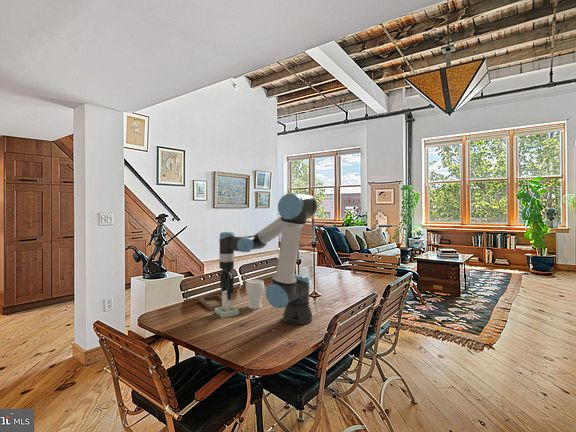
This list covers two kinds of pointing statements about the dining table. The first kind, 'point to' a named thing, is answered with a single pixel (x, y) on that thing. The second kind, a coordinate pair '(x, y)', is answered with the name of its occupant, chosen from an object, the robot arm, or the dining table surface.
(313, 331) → the dining table surface
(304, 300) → the robot arm
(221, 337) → the dining table surface
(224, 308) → the white rounded cylinder
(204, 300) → the tray
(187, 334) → the dining table surface
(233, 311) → the dish
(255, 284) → the cup
